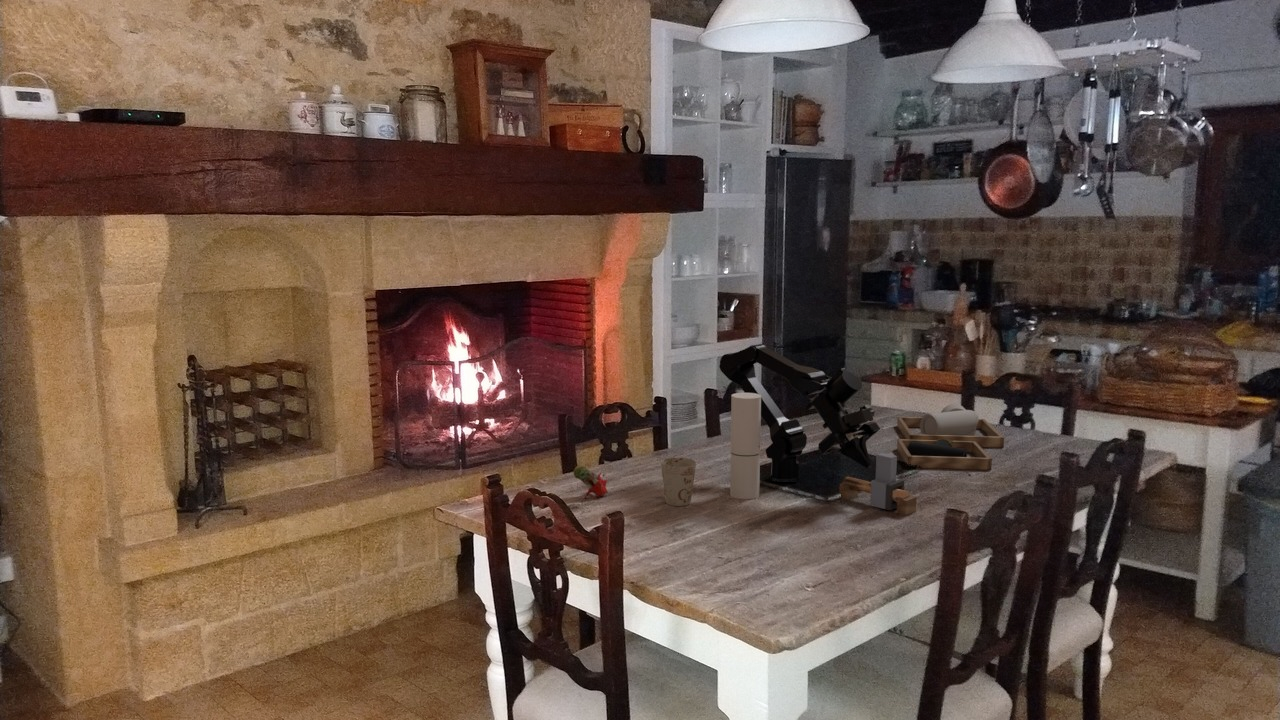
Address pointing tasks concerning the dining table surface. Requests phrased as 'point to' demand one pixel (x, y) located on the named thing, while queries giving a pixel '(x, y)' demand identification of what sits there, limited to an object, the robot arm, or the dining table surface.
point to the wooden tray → (976, 462)
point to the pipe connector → (936, 449)
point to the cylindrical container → (745, 445)
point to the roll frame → (983, 441)
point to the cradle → (903, 505)
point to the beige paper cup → (678, 480)
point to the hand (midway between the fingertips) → (869, 466)
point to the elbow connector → (950, 422)
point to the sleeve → (883, 478)
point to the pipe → (866, 488)
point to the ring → (889, 493)
